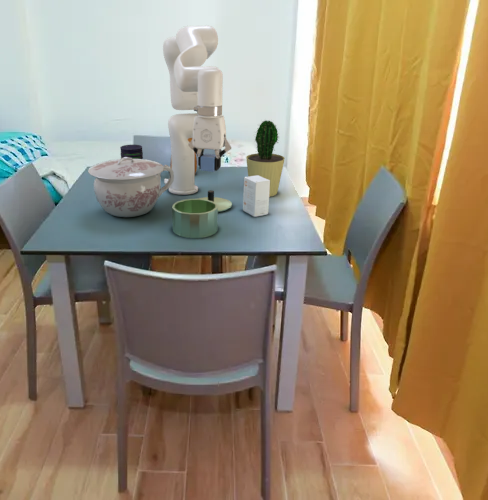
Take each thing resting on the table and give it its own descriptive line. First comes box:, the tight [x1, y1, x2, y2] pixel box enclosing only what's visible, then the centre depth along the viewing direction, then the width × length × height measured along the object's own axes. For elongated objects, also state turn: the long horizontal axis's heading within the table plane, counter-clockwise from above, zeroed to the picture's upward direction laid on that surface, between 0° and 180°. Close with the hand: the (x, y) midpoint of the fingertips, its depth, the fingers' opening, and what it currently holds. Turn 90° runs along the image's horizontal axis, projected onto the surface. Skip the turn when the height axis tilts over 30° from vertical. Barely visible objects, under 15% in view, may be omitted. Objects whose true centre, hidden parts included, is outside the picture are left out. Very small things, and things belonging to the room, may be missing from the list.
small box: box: [242, 175, 270, 218], centre depth 179 cm, size 8×6×13 cm
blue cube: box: [200, 153, 216, 173], centre depth 158 cm, size 4×4×4 cm
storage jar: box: [120, 144, 144, 159], centre depth 219 cm, size 10×10×15 cm
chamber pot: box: [87, 157, 174, 218], centre depth 180 cm, size 28×28×21 cm
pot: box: [171, 198, 219, 239], centre depth 165 cm, size 15×15×8 cm
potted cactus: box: [245, 119, 286, 198], centre depth 197 cm, size 15×15×30 cm
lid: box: [197, 189, 233, 213], centre depth 187 cm, size 16×16×6 cm
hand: (209, 168), depth 159 cm, fingers closed on blue cube, 4 cm apart
